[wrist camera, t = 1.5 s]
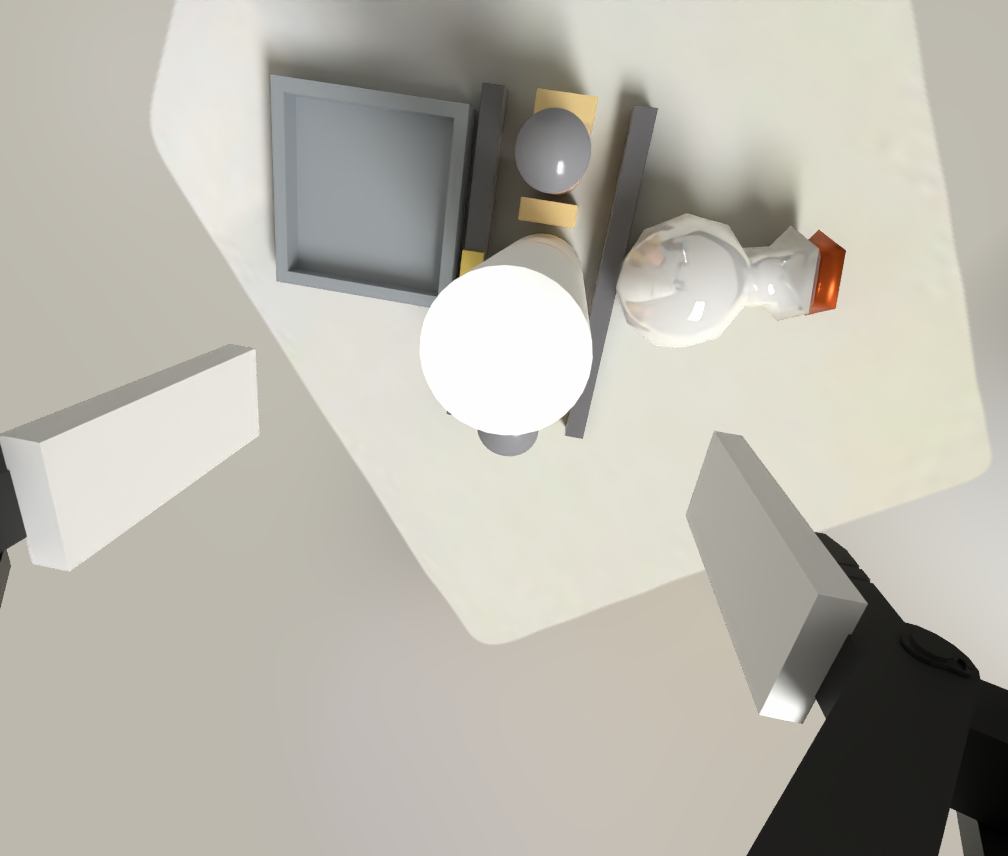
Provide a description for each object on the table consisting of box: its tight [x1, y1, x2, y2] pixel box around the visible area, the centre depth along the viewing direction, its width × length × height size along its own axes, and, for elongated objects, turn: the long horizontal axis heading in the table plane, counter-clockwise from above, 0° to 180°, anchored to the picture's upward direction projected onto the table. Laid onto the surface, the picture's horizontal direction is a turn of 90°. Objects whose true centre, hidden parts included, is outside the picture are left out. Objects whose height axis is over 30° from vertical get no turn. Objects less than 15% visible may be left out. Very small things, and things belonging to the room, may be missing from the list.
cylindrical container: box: [420, 233, 593, 435], centre depth 33 cm, size 7×7×25 cm
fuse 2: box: [515, 108, 591, 195], centre depth 35 cm, size 4×4×13 cm
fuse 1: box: [478, 430, 538, 456], centre depth 42 cm, size 4×4×13 cm
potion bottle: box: [616, 213, 846, 348], centre depth 39 cm, size 9×10×15 cm
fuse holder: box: [447, 83, 658, 439], centre depth 42 cm, size 26×13×6 cm, turn 172°
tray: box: [270, 74, 475, 308], centre depth 42 cm, size 15×15×2 cm
